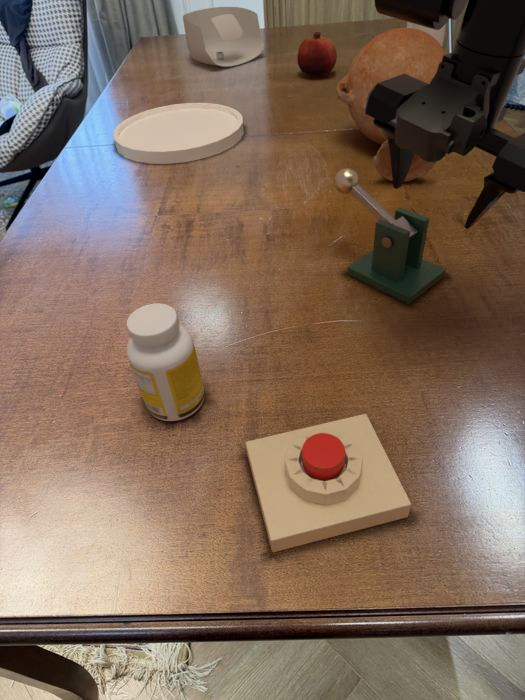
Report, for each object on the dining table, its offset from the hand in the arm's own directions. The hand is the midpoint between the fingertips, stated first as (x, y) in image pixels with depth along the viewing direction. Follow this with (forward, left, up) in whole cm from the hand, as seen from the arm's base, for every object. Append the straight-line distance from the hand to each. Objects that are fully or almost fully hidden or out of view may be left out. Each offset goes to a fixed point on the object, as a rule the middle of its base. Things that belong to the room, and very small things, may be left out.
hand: (431, 206), depth 54 cm
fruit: (-18, -97, -14) cm, 100 cm away
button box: (+19, +21, -14) cm, 31 cm away
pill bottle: (+31, +7, -14) cm, 35 cm away
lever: (+2, -11, -6) cm, 13 cm away
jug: (-16, -44, -14) cm, 49 cm away
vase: (-34, -71, -14) cm, 80 cm away
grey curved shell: (+3, -126, -14) cm, 127 cm away
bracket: (0, -7, -14) cm, 15 cm away
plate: (+22, -69, -14) cm, 74 cm away
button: (+19, +21, -10) cm, 30 cm away
